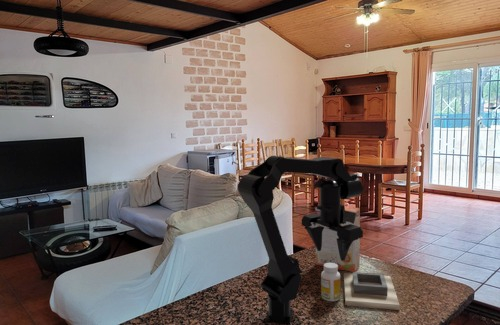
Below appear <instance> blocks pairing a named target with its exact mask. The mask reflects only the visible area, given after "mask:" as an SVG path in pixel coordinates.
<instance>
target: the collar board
mask: <svg viewBox="0 0 500 325" xmlns="http://www.w3.org/2000/svg"><path fill="white" fill-rule="evenodd" d="M391 278H392V277H391V275H385V274H384V273H372V272H358V271H355V272H351V273H348V272H344V273H343V283H344V284H343V287H344V300H345V302H344V303H345V304H344V305H345V306H346V305H347V306H348V307H360V308H372V309H383V310H396V311H400V309H401V308H400V302H399V300H398V296H397V293H396V290H395V287H394V284H393V281H392V279H391Z"/></svg>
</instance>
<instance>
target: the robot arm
mask: <svg viewBox="0 0 500 325" xmlns="http://www.w3.org/2000/svg"><path fill="white" fill-rule="evenodd" d="M343 160H344V159H341V158H340V157H331V156H317V157H314V158H310V159H308V158H296V157H284V156H280V155H270V156H268V157H267V158H266V159H265V160H264V161H263V162H261V163H260V164H259V165H257V166H255V167H254V168H252V169H250V170H249V172H248V173H246V174H245V175H243V176H242V177H241V178H240V179H239V182H238V183H237V190H238V193H239V194H240V196H241V199H242V200H243V202H244V203H245V205H246V206H248V208H249V210H251V212H252V214H253V216H254V220H255V222H256V225H257V228H258V231H259V234H260V237H261V239H262V242H263V245H264V248H265V250H266V253H267V254H266V255H267V256H268V262H267V268H266V269H267V274H266V276H265V278H263V280H262V282H261V284H260V287H261V290H262V291H263V292H265V293H267V302H268V307H267V308H268V309H267V313H266V316H265V319H264V320H265V322H266V323H274V324H275V323H276V324H286V325H291V323H292V318H293V315H294V309H292V308H291V301H293V300H295V299H297V295H298V292H299V288H300V285H301V282H302V275H301V274H302V273H303V271H302V270H301V268H300V263H299V260H298V259H296V258H295V257H293V256H291V255H288V253H287V250H286V247H285V243H284V241H283V238H282V235H281V232H280V229H279V226H278V223H277V220H276V217H275V214H274V210H273V203H274V199H275V198H274V190H275V189H277V187H278V186H279V185H280V182H281V179H282V176H283V174H284V173H294V174H295V173H296V174H310V175H311V174H312V175H315V176H318V177H321V178H318V180H317V181H316V182H314V184H313V187H314V188H318V189H319V204H318V205H316V207H317V209H319V210H320V215H319V214H315V213H311V214H306V215H303V216H302V218H301V226H302V227H304V230H306V231H307V233H308V235H309V237H310V238H311V241H312V243H313V244H314V246H315V249H316V248H317V250H318V251H321V248H322V231H323V229H324V228H327V229H330V230H333V231H336V232H337V236H338V237H339V238H338V239H337V245H338V250H339V255H340V259H341V261H343V260H345V258H346V255H347V253H348V250H349V248H350V245H351V244H352V242H353V241H354V240H357V239H359V238H360V239H361V238H364V230H363V228H362V227H361V226H360V227H359V226H355V225H352V224H354V221H355V217H356V213H353V212H349V211H346V210H345V207H346V206H345V205H343V204H342V200H347V199H352V198H357V197H359V196H361V195H362V194H363V191H364V186H363V184H362V181H361V180H360V179H359V178H358V174H357V173H349V171H348V169H347V168H346V166H345V164H344V162H343ZM325 178H326V179H327V180H326V179H325ZM346 221H347V222H351V223H352V224H349V225H346V226H341V224H345V223H346Z"/></svg>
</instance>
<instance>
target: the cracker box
mask: <svg viewBox="0 0 500 325" xmlns="http://www.w3.org/2000/svg"><path fill="white" fill-rule="evenodd" d="M344 207H345V210H346V211H349V212H353V213H356V217H355V221H354V224H352V223H351V222H347V221H346V223H345V224H341V226H346V225H349V224H352V225H355V226H359V227H361V225H360V224H361V219H360V218H361V217H360V216H361V210H360V209H361V208H360V207H351V206H344ZM314 211H315V214H319V215H320V210H319V209H317V206H316V207H315V210H314ZM338 238H339V237H338V236H337V232H336V231H333V230H330V229H327V228H324V229H323V231H322V248H321V251H318V250H317V248H316V247H315V265H316V266H320V267H324V264H325V263H335V264H337V265H338V270H341V271H347V272H351V273H353V272H357V270H358V269H359V268H360V264H361V263H360V261H361V260H360V259H361V258H360V256H361V255H360V252H361V251H360V250H361V248H360V247H361V244H360V243H361V241H360V240H361V238H359V239H357V240H354V241H353V242H352V244H351V245H350V248H349V250H348V253H347V255H346V258H345V260H343V261H341V259H340V255H339V250H338V245H337V239H338Z"/></svg>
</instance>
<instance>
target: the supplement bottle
mask: <svg viewBox="0 0 500 325" xmlns="http://www.w3.org/2000/svg"><path fill="white" fill-rule="evenodd" d="M338 270H339V269H338V265H337V264H335V263H325V264H324V266H323V271H321V274H320V287H321V288H320V293H321V294H320V295H321V298H322V299H323V300H324V301H327V302H337V301H339V300H340V299H341V273H340V272H339V271H338Z"/></svg>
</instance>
